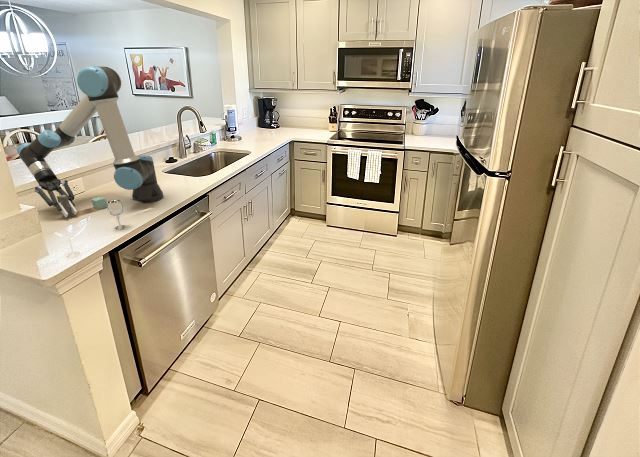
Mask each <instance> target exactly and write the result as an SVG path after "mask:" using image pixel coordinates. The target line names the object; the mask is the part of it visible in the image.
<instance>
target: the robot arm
mask: <svg viewBox="0 0 640 457" xmlns="http://www.w3.org/2000/svg"><path fill="white" fill-rule="evenodd" d="M121 79H122V78H121V77H120V75H119V73H118V72H117V71H115V69H113V68H111V67H108V66H99V65H98V66H96V65H90V66H87V67H86V66H85V67H83V68H81V69H80V70H79V72H78V73H77V75H76V83H77V86H78V88H79V90H80V91H81V92H82V93H83V94H84V96H83V97H82V99H81V100H80V101H78V103H77V105H76V106H75V107H73V109H72V110H71V111H70V112H69V113H68V115H67V116H66V117H65V118H64V119H63V121H62V122H61V123H60V124H59V126H58V127H57V128H56V129H55V130H54V131H53V130H51V129H44V130H43V131H41V132H40V133H39V134H38V136H36V137H35V139H34V140H33V141H32V142H24V143H22V144H20V145H19V146H17V148H16V153H17V154H18V156H19V158H20V160H22V161H23V162H22V163H24V165H25V166H26V167H27V168H28V171H29V173H31V175H32V177H33V178H34V179H35V181H36V182H37V184H38V186H35V187H34V192H35V193H37V194H38V195H39V196H40V197H41V198H42V199H43V200H44V201H45V203H46V204H47V205H48V207H52V206H53V208H55V209H56V210H57V211H58V212H61V214H62V213H63V214H62V216H63V215H64V216H65V217H67V216H68V213H67V212H66V210H65V209H64V207H63V206H62V204H61V203H59V202H58V199H57V196H56V195H55V193H54V191H56V192H57V193H58V194H59V195H60V196H61V195H66V196H67V197H68V200H69V204H70V207H71V210H72V213H74V215H76V213H77V212H78V210H77V209H76V205H75V203H74V202H73V201H74V200H75V195H74V193H73V191H72V190H71V189H72V188H70V185H69V182H68V180H67V179H65V180H64V181H63V180H61V179H59V178H58V177H57V175H56V174H55V173H54V171H53V170H52V168H51V166H50V165H49V164H48V162H47V161H46V160H45V159H46V157H47V156H49V154H50V153H51V152H53V151H55V150H57V149H60V148H64V147H66V146H70V145H71V144H73V143H74V142H75V138H76V136H77V135H78V134H79V133H80V132H81V131H82V129H83V128H84V127H85V126H86V125H87V124H88V122H90V121H91V119H92V118H93V117H94V115H95V114H96V113H97V114H98V117H99V120H100V122H101V125H102V128H103V130H104V133H105V135H106V138H107V142H108V144H109V147H110V149H111V152H112V154H113V157H114V160H113V162H112V165H113V168H114V170H115V171H114V174H113V179H114V182H115V183H116V184H117V186H118V187H120V188H122V189H124V190H128V191H132V194H131V198H132V201H135V202H140V203H142V204H147V203H154V202H159V201H160V200H162V199H164V192H163V190H162V189H161V187H160V185H159V184H158V180H157V174H156V169H155V165H154V159H153V157H152V155H145V154H144V155H140V154H139V155H136V154H135V151H134V148H133V146H132V142H131V140H130V138H129V135H128V132H127V129H126V126H125V124H124V120H123V117H122V115H121V111H120V109H119V105H118V104H117V103H118V100H119V94H118V93H119V91H120V89H121V87H122V80H121ZM61 186H62V187H63V188H64V189H63V188H62V187H61ZM44 191H46V192H47V194H48V195H47V194H46V193H45V192H44ZM49 197H50V198H49Z"/></svg>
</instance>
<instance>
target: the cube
mask: <svg viewBox="0 0 640 457" xmlns="http://www.w3.org/2000/svg"><path fill="white" fill-rule="evenodd" d="M90 200H91V204H92V207H93V208H95V209H98V210H99V209H102V208H106V207H107V203H108V202H107V200H106V198H105V197H102V196H98V197H95V198H91V199H90ZM106 209H107V208H106ZM102 210H103V209H102ZM99 211H100V210H99Z"/></svg>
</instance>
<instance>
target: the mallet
mask: <svg viewBox="0 0 640 457" xmlns="http://www.w3.org/2000/svg"><path fill="white" fill-rule="evenodd" d="M56 200H57V202H58V203H61V204H62V206H63V207H64V209H65V210H66V212H67V213H68V216H67V217H65V216H64V215H63V213H62V212H61V214H62V215H61V217H63V218H64V219H66V220H72V219H75V218H78V217H81V216H85V215H88V214H92V213H96V212H99V211H101V210H106V209H108V207H106V208H102V209H99V210H98V209H95V208H93V206H92V207H89V208H85V209H82V210H79V211H78V210H77V213H76V215H74V213H73V212H72V210H71V207H70V204H69V200H68V197H67V196H66V195H61V194H60V195H57V196H56ZM106 203H107V204H108V202H106Z"/></svg>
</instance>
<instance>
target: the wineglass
mask: <svg viewBox="0 0 640 457" xmlns="http://www.w3.org/2000/svg"><path fill="white" fill-rule="evenodd" d="M107 203H108V204H107V207H108V208H107V211H108V213H109V215H111V216H114V217H116V220H117V222H118V225H117V226H115V227H114V229H115V230H122V228H123V229H125V228H126V227H127V226H126V224H121V222H120V217H119V216H121V215H122V214H123V213H124V206H123V204H122V202H121V200H120V199H111V200H109V201H108V200H107Z"/></svg>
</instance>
